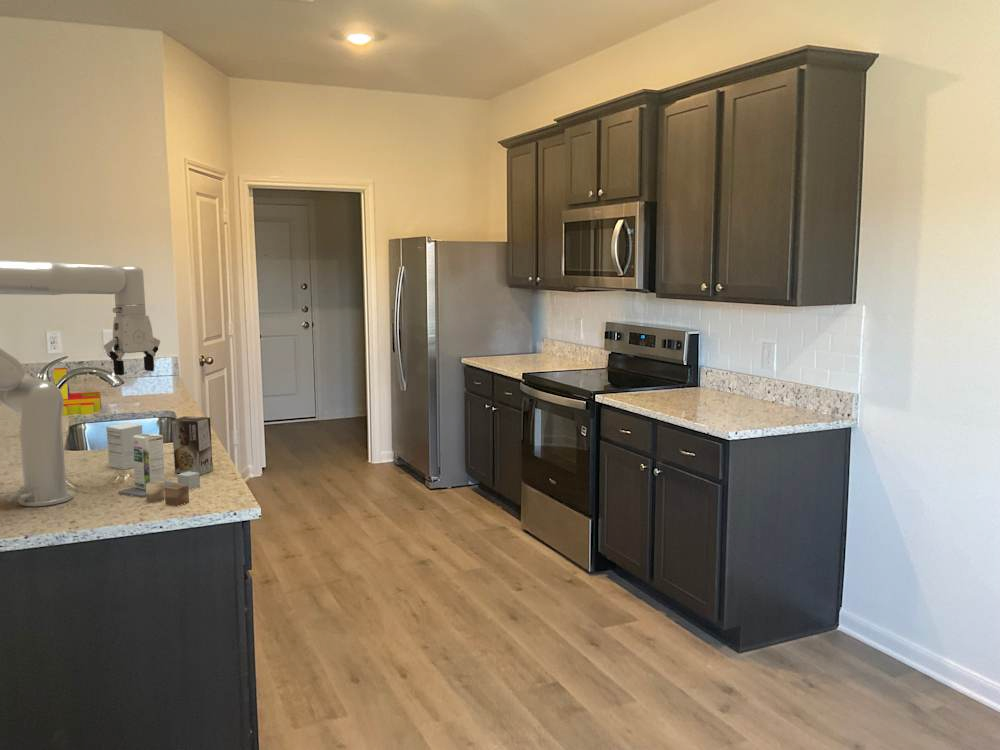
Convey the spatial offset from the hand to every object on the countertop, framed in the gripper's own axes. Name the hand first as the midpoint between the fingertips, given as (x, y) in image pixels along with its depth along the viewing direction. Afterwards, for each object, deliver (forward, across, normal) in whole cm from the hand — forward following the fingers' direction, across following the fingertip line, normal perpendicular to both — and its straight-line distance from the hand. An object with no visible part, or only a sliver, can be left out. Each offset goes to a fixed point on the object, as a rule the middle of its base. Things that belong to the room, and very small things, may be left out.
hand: (134, 372), depth 226 cm
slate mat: (+31, -5, -10) cm, 33 cm away
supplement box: (+31, +9, +18) cm, 37 cm away
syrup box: (+31, -5, -10) cm, 32 cm away
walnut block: (+31, -11, -27) cm, 42 cm away
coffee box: (+31, +14, -5) cm, 35 cm away
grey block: (+31, +1, -18) cm, 36 cm away
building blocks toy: (+32, +61, +117) cm, 135 cm away
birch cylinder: (+31, -11, -20) cm, 38 cm away
